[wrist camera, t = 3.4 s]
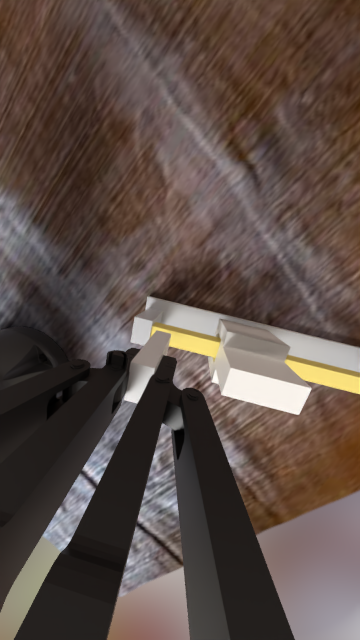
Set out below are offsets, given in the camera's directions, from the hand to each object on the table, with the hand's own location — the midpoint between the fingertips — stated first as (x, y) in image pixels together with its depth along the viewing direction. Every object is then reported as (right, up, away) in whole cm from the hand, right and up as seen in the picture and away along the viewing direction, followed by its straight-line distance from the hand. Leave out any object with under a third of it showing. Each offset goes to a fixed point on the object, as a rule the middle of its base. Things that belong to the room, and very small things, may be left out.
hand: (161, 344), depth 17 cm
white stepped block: (+9, -1, +5) cm, 11 cm away
